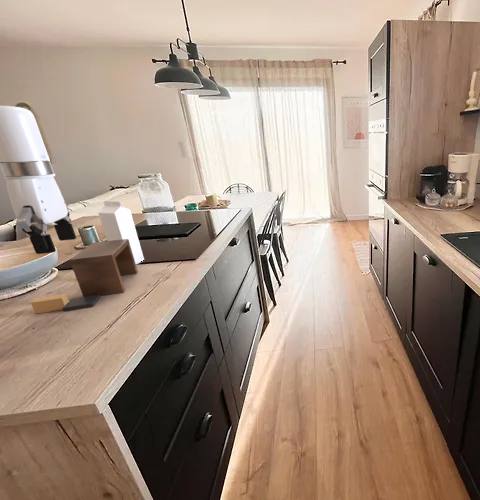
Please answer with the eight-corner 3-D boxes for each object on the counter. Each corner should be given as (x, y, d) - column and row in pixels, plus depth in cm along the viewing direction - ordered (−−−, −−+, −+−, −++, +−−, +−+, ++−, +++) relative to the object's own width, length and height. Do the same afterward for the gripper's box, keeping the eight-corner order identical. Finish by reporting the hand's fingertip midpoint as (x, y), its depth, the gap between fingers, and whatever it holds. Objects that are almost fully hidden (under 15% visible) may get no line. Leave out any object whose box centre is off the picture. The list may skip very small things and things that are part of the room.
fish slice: (32, 316, 70) (27, 305, 69) (43, 306, 74) (39, 295, 73) (93, 306, 74) (89, 295, 73) (100, 297, 79) (96, 287, 77)
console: (84, 298, 78) (69, 259, 74) (104, 276, 91) (92, 242, 87) (123, 292, 81) (111, 254, 77) (138, 271, 94) (128, 238, 90)
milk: (130, 267, 98) (111, 203, 90) (115, 266, 99) (94, 203, 91) (144, 260, 103) (127, 199, 96) (129, 259, 104) (111, 199, 96)
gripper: (30, 168, 67) (56, 237, 73) (-27, 175, 52) (12, 261, 58) (70, 166, 70) (93, 233, 76) (27, 173, 55) (59, 256, 61)
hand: (58, 245), depth 67 cm, fingers open, 9 cm apart
